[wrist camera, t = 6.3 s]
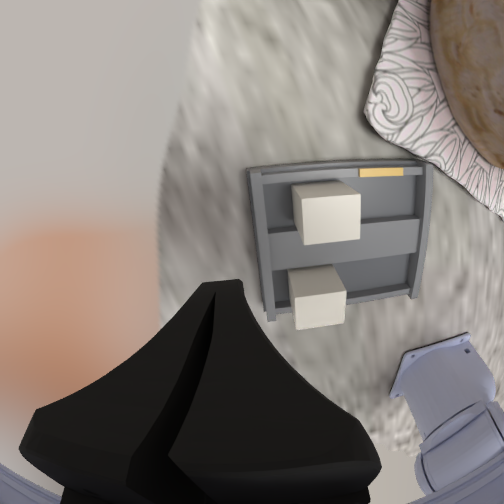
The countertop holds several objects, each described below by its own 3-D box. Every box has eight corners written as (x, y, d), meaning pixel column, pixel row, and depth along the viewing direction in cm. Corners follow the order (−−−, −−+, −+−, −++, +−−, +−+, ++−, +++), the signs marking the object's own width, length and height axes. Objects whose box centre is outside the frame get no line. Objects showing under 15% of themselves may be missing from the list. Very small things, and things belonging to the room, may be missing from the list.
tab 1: (339, 180, 16) (360, 194, 13) (340, 217, 17) (359, 239, 14) (291, 183, 16) (301, 198, 13) (293, 222, 17) (304, 245, 14)
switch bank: (418, 159, 16) (435, 164, 14) (407, 282, 21) (419, 297, 19) (246, 168, 17) (246, 174, 15) (263, 303, 21) (264, 322, 19)
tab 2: (331, 262, 18) (346, 290, 15) (330, 292, 19) (343, 323, 16) (287, 267, 19) (294, 297, 15) (289, 297, 20) (296, 330, 16)
